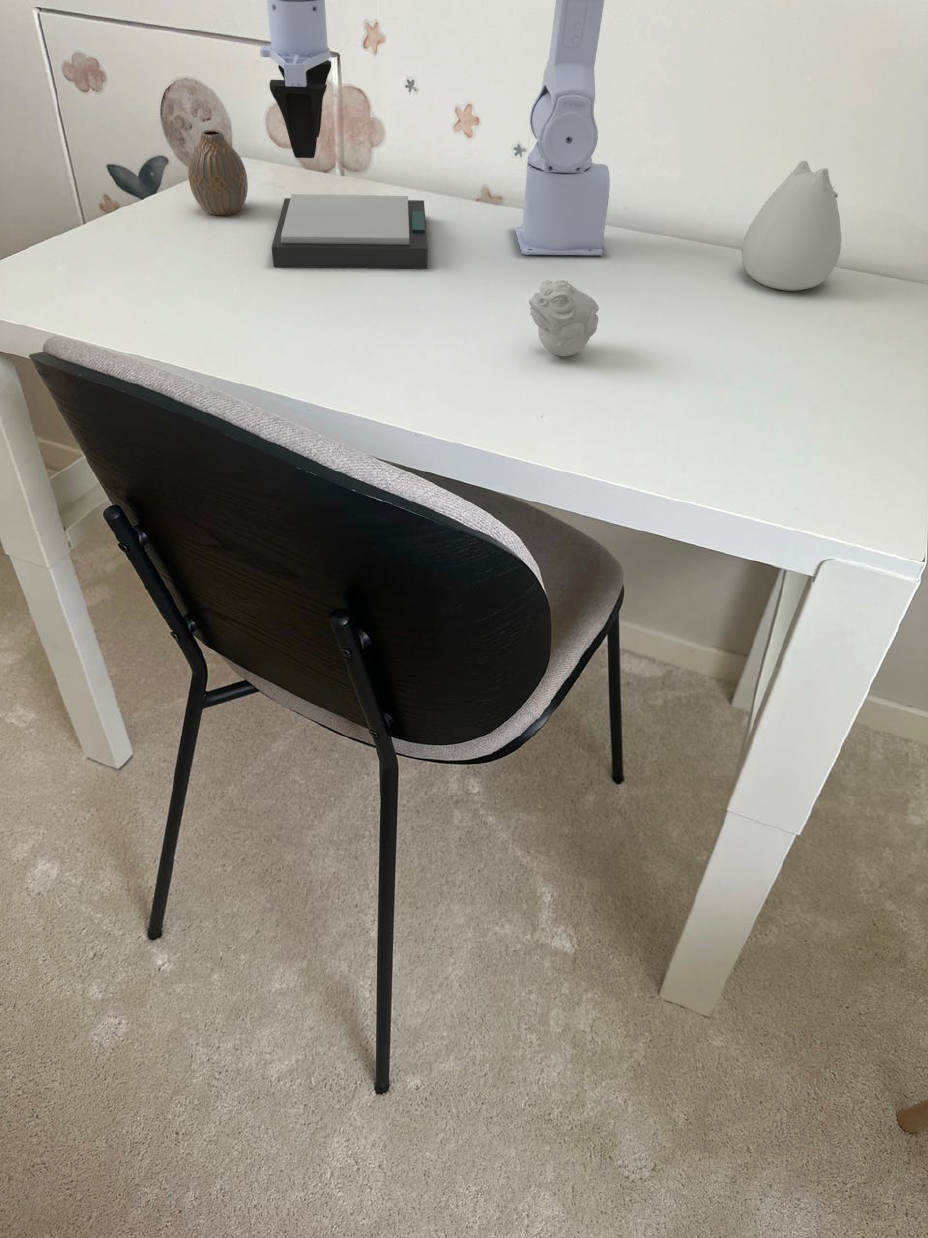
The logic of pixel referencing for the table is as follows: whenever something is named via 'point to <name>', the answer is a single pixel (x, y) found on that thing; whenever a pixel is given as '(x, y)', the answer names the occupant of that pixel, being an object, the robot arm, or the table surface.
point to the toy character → (795, 233)
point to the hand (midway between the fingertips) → (307, 146)
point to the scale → (351, 232)
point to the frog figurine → (563, 317)
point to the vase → (217, 175)
